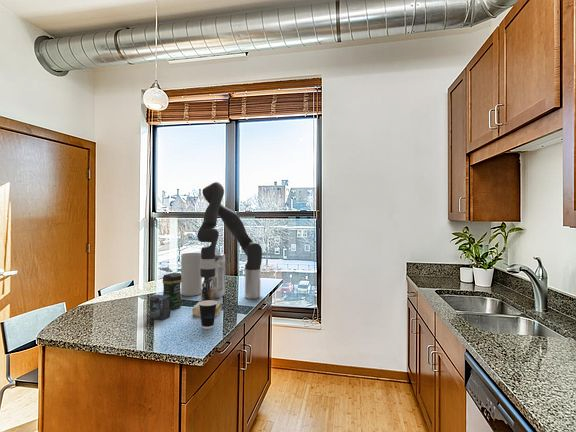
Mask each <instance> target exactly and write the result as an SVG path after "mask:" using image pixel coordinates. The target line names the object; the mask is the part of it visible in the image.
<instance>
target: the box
mask: <svg viewBox="0 0 576 432" xmlns="http://www.w3.org/2000/svg"><path fill="white" fill-rule="evenodd" d="M170 317H171V310H170V296H166V295H163V294H155V295H152V296H149V319H151V320H152V319H153V320H159V321H165V320H167V319H168V318H170Z"/></svg>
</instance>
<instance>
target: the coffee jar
mask: <svg viewBox="0 0 576 432" xmlns="http://www.w3.org/2000/svg"><path fill="white" fill-rule="evenodd" d="M181 280H182V279H181V273H179V272H171V273H166V274H163V276H162V284H163V290H162V291H163V293H162V295H166V296H170V311H171V310H174V309H175V310H176V309H178V308H180V307H181V306H182V294H181Z"/></svg>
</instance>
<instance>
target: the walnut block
mask: <svg viewBox="0 0 576 432" xmlns="http://www.w3.org/2000/svg"><path fill="white" fill-rule="evenodd" d="M205 292H207V291H206V290H205ZM214 299H215V298H214V287H212V288H210V290H209V300H213V301H215V300H214ZM201 301H204V294H203V289H202V293H201Z"/></svg>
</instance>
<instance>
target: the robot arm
mask: <svg viewBox="0 0 576 432" xmlns="http://www.w3.org/2000/svg"><path fill="white" fill-rule="evenodd" d="M202 195H203V198H204V199H205V200H206V201H207V203H208V206H207V207H206V209H205V211H204V214H203V221H202V223H201V226H200V227H199V229H198V231H197V236H196V237H197V240H198V241H199V242H200V243H210V245H208V246H203V247H201V248H200V253H201V263H200V276H201V277H202V278H204V279H203V280H202V289H203V294H204V301H206V300H209V290H210V288H212V287H213V278H212V277H214V276H215V252H216V246H217V243H218V240H219V236H220V235H219V234H220V233H219V230H218V229H217V228H216V227H217V223H218V216H219V218H220V219H221V221H222V223H223V224H224V225H225V226H226V228H227V230H228V231H229V232H230V233H231V235H232V236H233V237H234V238H235V239H236V241H237V243H238V244H239V246H240V247H241V249H242V251H243V252H244V254H245V255H246V256H247V257H246V258H247V259H246V260H247V261H246V263H245V264H244V265H245V267H244V298H246V299H250V300H251V299H261V267H262V261H263V260H262V258H263V249H262V245H260V244H259V243H257V242H254V241H253V239H252V238H251V237H250V236H249V235H248V233H247V231H246V227H245V225H244V223H243V221H242V219H241V218H240V217H239V215H238V214H237V213H236V212H235V211H233V210H232V209H230V208H228V207H226V206H225V205H223V204H222V201H223V198H224V195H225V189H224V187H223V185H222V184H221V183H220V182H218V181H215V182H212V183H210V184H209V185H207V186H205V187H204V188H203V189H202ZM205 290H206V291H207V292H205Z"/></svg>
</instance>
